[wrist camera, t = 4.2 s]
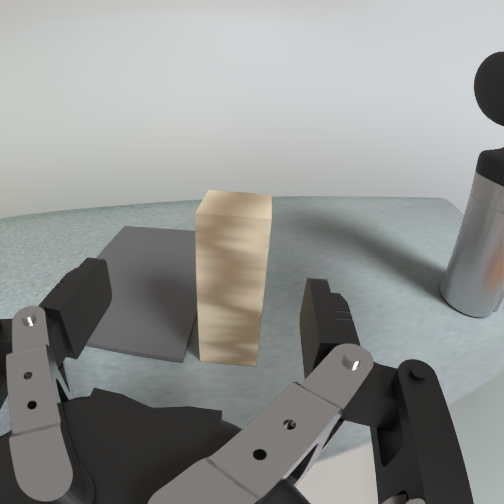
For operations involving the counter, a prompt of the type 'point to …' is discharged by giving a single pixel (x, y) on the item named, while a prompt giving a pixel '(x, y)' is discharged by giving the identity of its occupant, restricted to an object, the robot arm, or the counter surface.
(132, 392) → the counter surface
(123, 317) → the mat
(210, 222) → the wooden block
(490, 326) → the counter surface
